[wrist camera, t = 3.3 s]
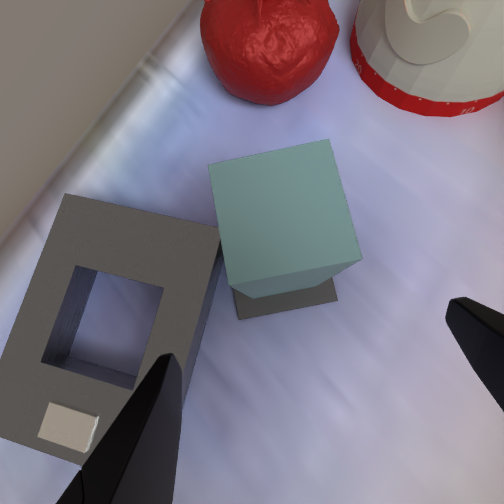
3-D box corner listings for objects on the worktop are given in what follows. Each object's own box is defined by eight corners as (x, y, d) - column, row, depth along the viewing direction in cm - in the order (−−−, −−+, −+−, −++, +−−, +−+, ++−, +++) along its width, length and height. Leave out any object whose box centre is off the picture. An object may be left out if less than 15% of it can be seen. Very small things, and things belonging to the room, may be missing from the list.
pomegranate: (272, 145, 23) (270, 44, 14) (188, 77, 25) (138, -52, 16) (353, 62, 24) (400, -85, 15) (265, 1, 26) (259, -163, 17)
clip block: (315, 286, 20) (362, 259, 9) (252, 298, 20) (228, 285, 10) (301, 226, 21) (329, 138, 10) (241, 238, 21) (207, 164, 11)
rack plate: (229, 237, 22) (222, 227, 19) (166, 466, 19) (149, 492, 16) (86, 205, 23) (62, 191, 21) (9, 413, 20) (-30, 429, 18)
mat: (336, 300, 20) (337, 300, 20) (239, 319, 21) (238, 320, 20) (313, 208, 22) (314, 206, 21) (223, 227, 22) (222, 226, 22)
